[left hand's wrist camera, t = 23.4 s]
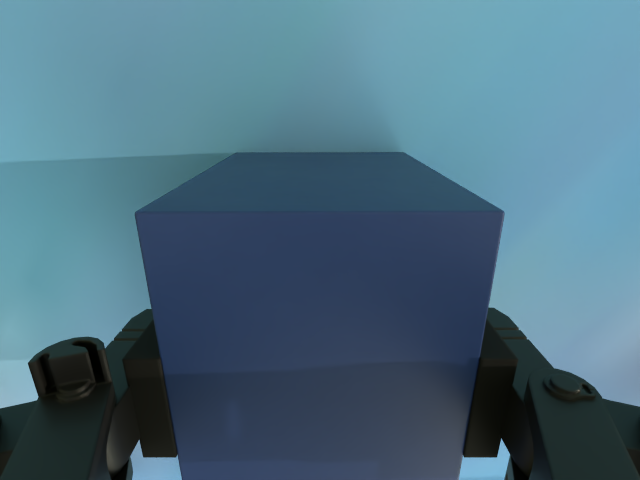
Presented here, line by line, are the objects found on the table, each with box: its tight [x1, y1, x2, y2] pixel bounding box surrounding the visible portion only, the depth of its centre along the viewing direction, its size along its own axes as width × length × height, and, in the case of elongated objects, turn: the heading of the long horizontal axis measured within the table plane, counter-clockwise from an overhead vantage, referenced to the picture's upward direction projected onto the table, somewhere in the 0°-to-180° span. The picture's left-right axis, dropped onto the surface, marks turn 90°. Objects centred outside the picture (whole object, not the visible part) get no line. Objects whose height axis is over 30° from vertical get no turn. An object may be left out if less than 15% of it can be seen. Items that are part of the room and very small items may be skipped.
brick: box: [135, 152, 504, 480], centre depth 12 cm, size 7×9×8 cm
